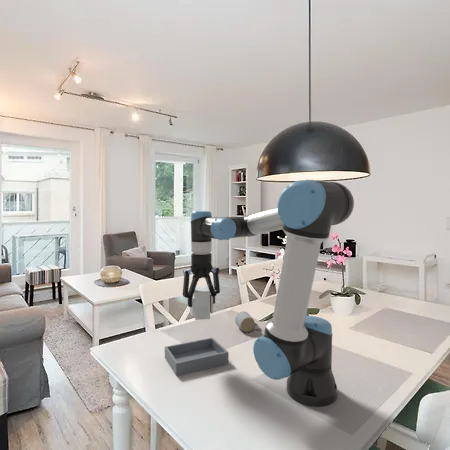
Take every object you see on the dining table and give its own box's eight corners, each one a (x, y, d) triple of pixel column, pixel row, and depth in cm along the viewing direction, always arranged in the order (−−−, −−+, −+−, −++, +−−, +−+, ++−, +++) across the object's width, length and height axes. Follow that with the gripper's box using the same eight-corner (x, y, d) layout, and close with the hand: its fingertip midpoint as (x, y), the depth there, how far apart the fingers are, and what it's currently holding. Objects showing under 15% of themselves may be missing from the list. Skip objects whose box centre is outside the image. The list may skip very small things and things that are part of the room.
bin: (228, 363, 119) (228, 352, 119) (176, 375, 111) (176, 363, 110) (212, 347, 132) (212, 337, 132) (164, 357, 124) (164, 346, 124)
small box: (210, 319, 118) (210, 291, 118) (194, 320, 117) (194, 291, 117) (208, 312, 126) (208, 285, 126) (193, 313, 125) (193, 286, 125)
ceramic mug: (240, 334, 147) (241, 317, 146) (234, 327, 154) (235, 311, 154) (262, 331, 150) (262, 315, 149) (255, 325, 158) (255, 309, 157)
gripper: (221, 249, 128) (221, 307, 129) (172, 253, 119) (173, 314, 121) (229, 252, 121) (229, 313, 123) (178, 256, 113) (179, 321, 114)
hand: (201, 313), depth 122 cm, fingers closed on small box, 7 cm apart
